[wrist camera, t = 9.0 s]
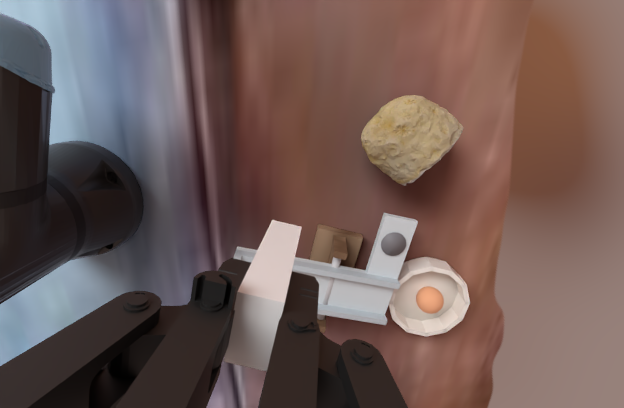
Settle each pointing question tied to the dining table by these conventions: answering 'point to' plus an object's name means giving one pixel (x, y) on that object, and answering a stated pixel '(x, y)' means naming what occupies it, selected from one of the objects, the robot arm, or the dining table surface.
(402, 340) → the dining table surface
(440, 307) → the ball
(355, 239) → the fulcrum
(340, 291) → the lever
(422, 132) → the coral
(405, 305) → the bowl
